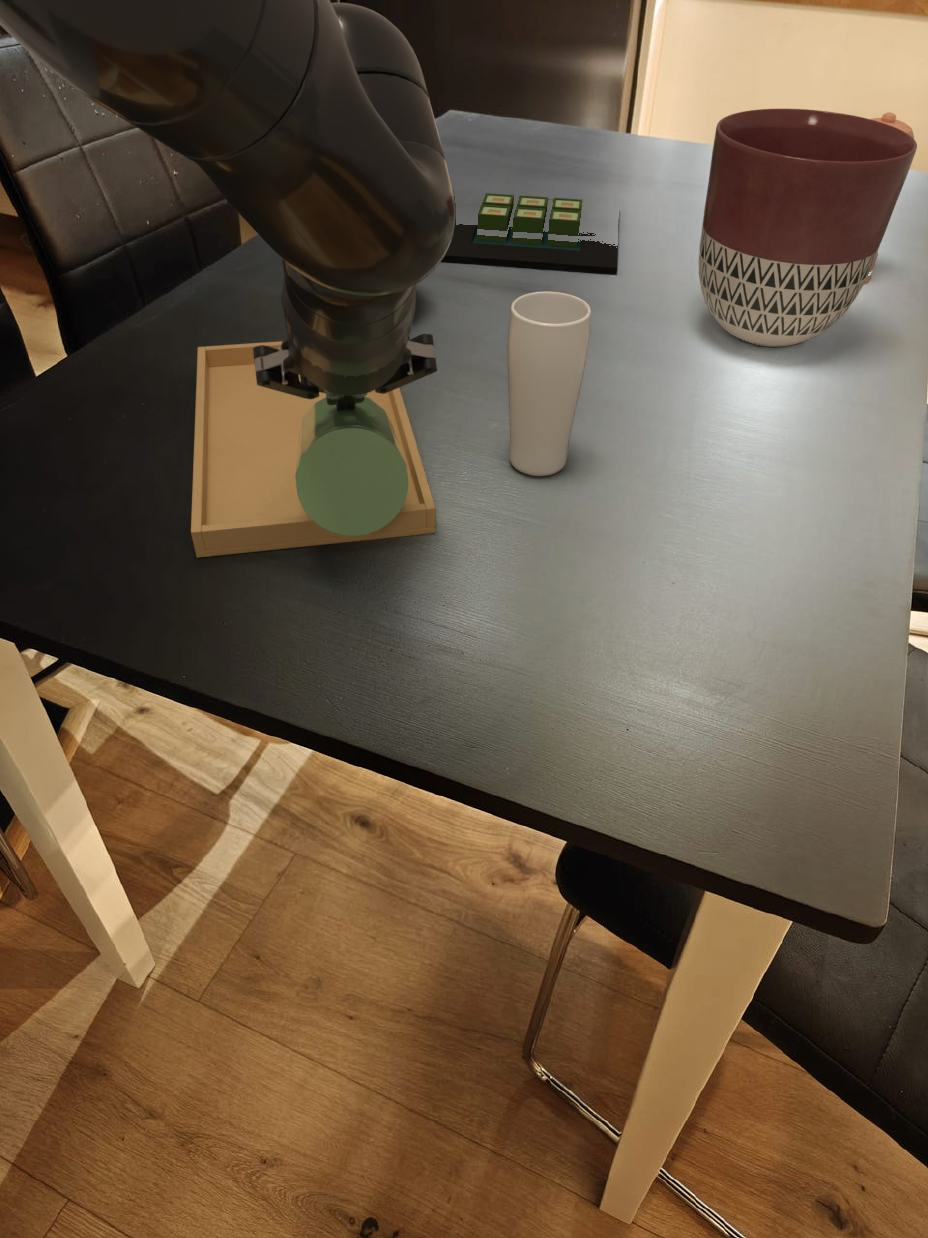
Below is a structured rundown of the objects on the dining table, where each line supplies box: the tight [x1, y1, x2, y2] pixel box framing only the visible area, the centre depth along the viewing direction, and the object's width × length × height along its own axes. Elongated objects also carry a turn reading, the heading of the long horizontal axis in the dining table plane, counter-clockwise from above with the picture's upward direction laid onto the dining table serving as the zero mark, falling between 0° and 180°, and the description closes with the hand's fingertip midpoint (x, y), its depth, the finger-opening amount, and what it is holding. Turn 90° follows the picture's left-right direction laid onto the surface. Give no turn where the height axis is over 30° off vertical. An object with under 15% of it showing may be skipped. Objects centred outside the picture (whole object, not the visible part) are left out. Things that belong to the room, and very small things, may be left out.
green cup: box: [295, 397, 408, 536], centre depth 72 cm, size 8×8×13 cm
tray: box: [190, 340, 437, 558], centre depth 85 cm, size 20×33×3 cm, turn 11°
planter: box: [698, 108, 918, 348], centre depth 98 cm, size 20×20×21 cm
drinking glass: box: [507, 291, 592, 477], centre depth 79 cm, size 7×7×15 cm
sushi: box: [440, 192, 619, 276], centre depth 127 cm, size 25×25×4 cm
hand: (344, 397), depth 70 cm, fingers closed
